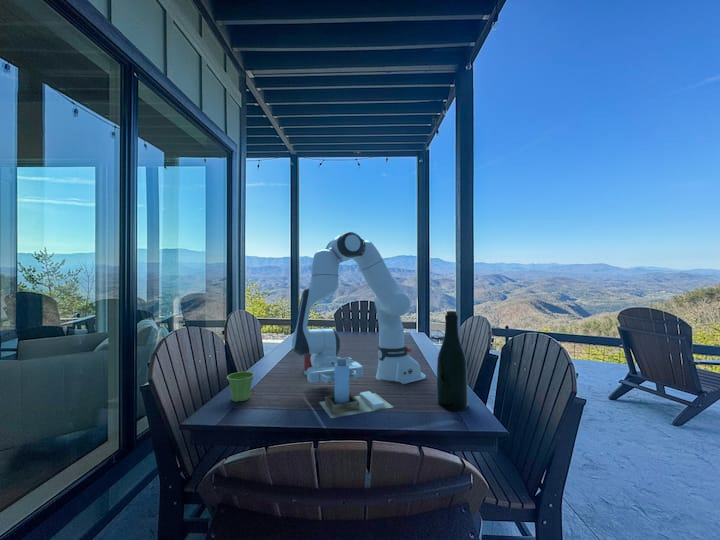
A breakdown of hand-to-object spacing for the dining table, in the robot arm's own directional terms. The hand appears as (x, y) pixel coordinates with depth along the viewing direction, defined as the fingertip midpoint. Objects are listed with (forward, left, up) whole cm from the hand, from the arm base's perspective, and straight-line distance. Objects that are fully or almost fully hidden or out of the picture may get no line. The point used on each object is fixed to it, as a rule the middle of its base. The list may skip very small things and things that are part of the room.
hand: (342, 378), depth 107 cm
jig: (-5, 0, -11) cm, 12 cm away
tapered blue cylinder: (0, 0, -10) cm, 10 cm away
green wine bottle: (-37, +11, -11) cm, 40 cm away
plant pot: (+31, -24, -11) cm, 41 cm away
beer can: (-2, -50, -11) cm, 52 cm away
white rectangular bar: (-11, 0, -10) cm, 14 cm away
